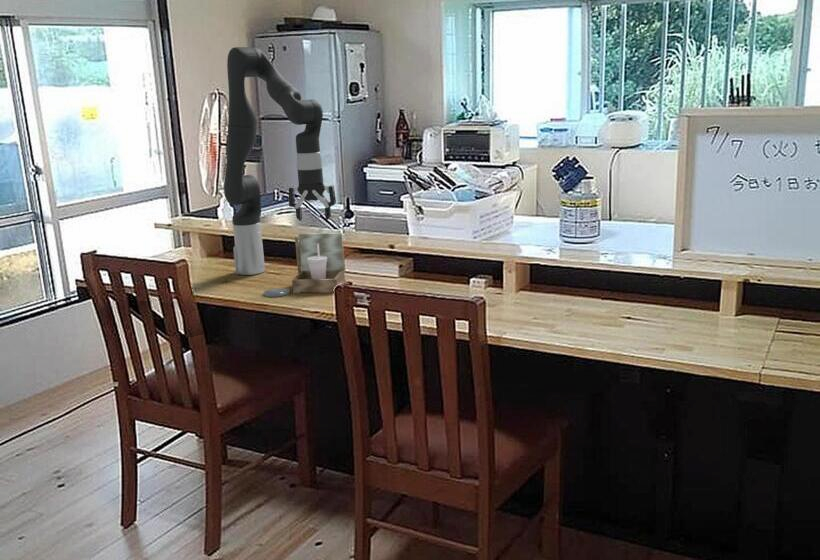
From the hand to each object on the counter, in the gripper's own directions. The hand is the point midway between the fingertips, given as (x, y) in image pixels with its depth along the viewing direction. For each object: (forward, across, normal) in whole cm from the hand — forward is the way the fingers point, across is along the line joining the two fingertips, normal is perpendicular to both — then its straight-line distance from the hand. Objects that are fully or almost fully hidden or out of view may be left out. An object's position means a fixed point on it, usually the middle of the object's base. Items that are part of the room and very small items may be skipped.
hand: (313, 219), depth 250 cm
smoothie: (+22, 0, 0) cm, 22 cm away
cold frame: (+22, 0, 0) cm, 22 cm away
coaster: (+22, +12, +6) cm, 26 cm away
